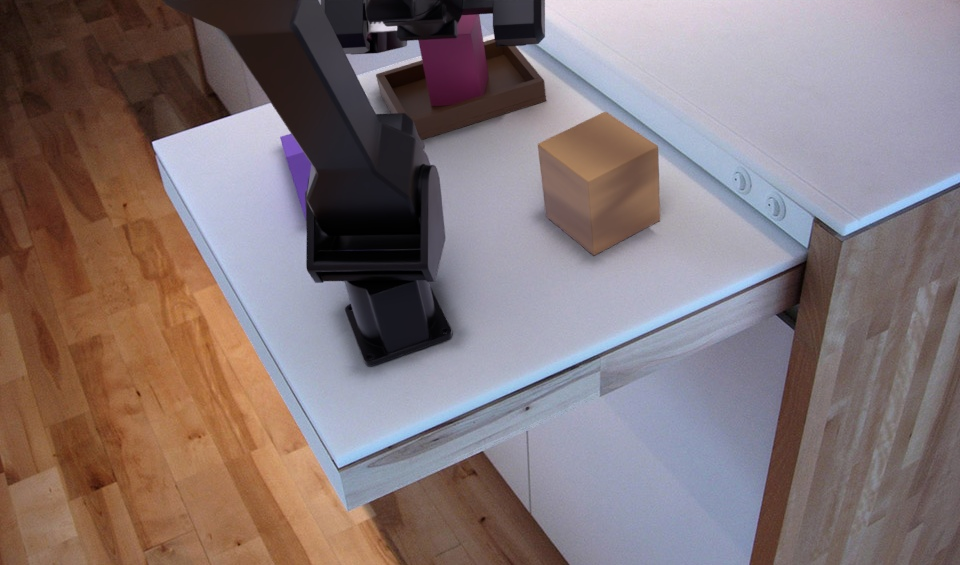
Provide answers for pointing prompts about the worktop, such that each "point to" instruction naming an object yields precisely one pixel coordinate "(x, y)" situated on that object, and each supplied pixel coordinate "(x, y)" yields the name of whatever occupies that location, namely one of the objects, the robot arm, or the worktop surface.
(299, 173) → the purple block
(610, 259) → the worktop surface
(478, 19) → the mulberry block
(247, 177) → the worktop surface
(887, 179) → the worktop surface
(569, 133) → the oak block
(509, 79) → the tray
